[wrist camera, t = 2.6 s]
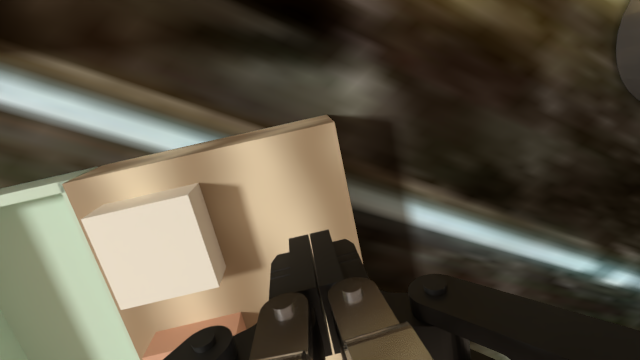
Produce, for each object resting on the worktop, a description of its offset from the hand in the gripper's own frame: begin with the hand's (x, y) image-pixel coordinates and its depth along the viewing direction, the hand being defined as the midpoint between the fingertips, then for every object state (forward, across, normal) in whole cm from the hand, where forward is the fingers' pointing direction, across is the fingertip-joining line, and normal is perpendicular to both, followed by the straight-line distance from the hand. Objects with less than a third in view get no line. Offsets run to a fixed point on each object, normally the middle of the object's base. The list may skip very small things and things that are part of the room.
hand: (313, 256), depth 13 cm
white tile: (+6, +8, 0) cm, 10 cm away
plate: (+10, +4, +4) cm, 12 cm away
